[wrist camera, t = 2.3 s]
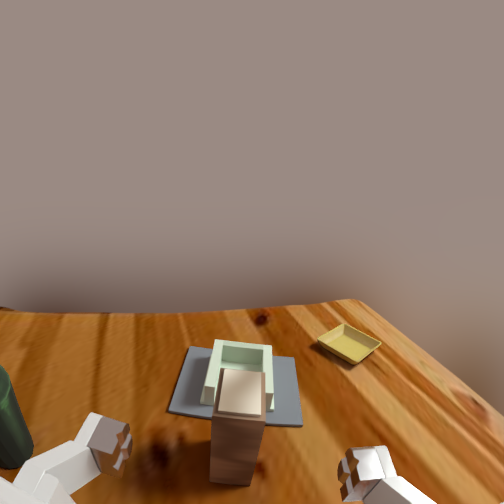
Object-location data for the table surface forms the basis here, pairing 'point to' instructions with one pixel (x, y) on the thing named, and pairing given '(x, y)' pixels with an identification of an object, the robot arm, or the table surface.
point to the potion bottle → (12, 427)
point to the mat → (189, 405)
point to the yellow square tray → (348, 343)
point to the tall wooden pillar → (237, 426)
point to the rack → (238, 367)
